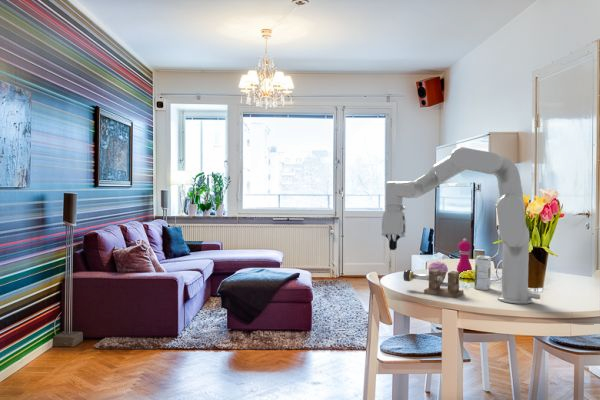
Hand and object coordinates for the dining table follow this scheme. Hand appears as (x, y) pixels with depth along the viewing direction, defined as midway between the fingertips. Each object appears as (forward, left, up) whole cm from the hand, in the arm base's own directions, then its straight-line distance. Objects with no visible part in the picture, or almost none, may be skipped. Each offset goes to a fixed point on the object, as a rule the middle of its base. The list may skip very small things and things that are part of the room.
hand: (392, 249), depth 213 cm
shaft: (-14, 0, -13) cm, 20 cm away
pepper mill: (-20, -44, -17) cm, 51 cm away
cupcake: (-13, -24, -17) cm, 32 cm away
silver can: (-34, -21, -17) cm, 44 cm away
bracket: (-22, 0, -17) cm, 28 cm away
